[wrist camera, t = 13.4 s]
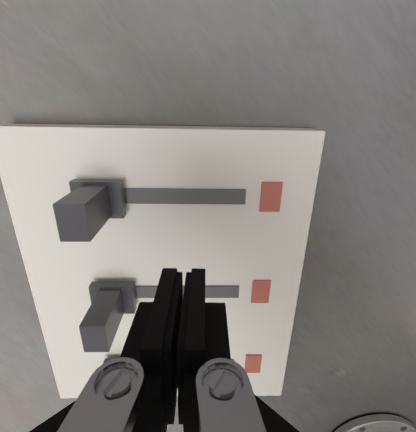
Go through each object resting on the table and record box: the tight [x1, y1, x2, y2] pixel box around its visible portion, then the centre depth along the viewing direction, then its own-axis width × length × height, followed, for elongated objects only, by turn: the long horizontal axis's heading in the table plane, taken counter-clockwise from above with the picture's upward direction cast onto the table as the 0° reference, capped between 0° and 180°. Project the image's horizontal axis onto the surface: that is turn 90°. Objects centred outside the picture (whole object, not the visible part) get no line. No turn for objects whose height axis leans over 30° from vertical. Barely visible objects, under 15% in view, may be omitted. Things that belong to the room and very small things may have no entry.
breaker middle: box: [79, 281, 137, 352], centre depth 22 cm, size 4×3×5 cm
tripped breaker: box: [53, 179, 126, 242], centre depth 18 cm, size 4×3×5 cm
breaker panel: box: [0, 124, 325, 398], centre depth 26 cm, size 24×28×3 cm
